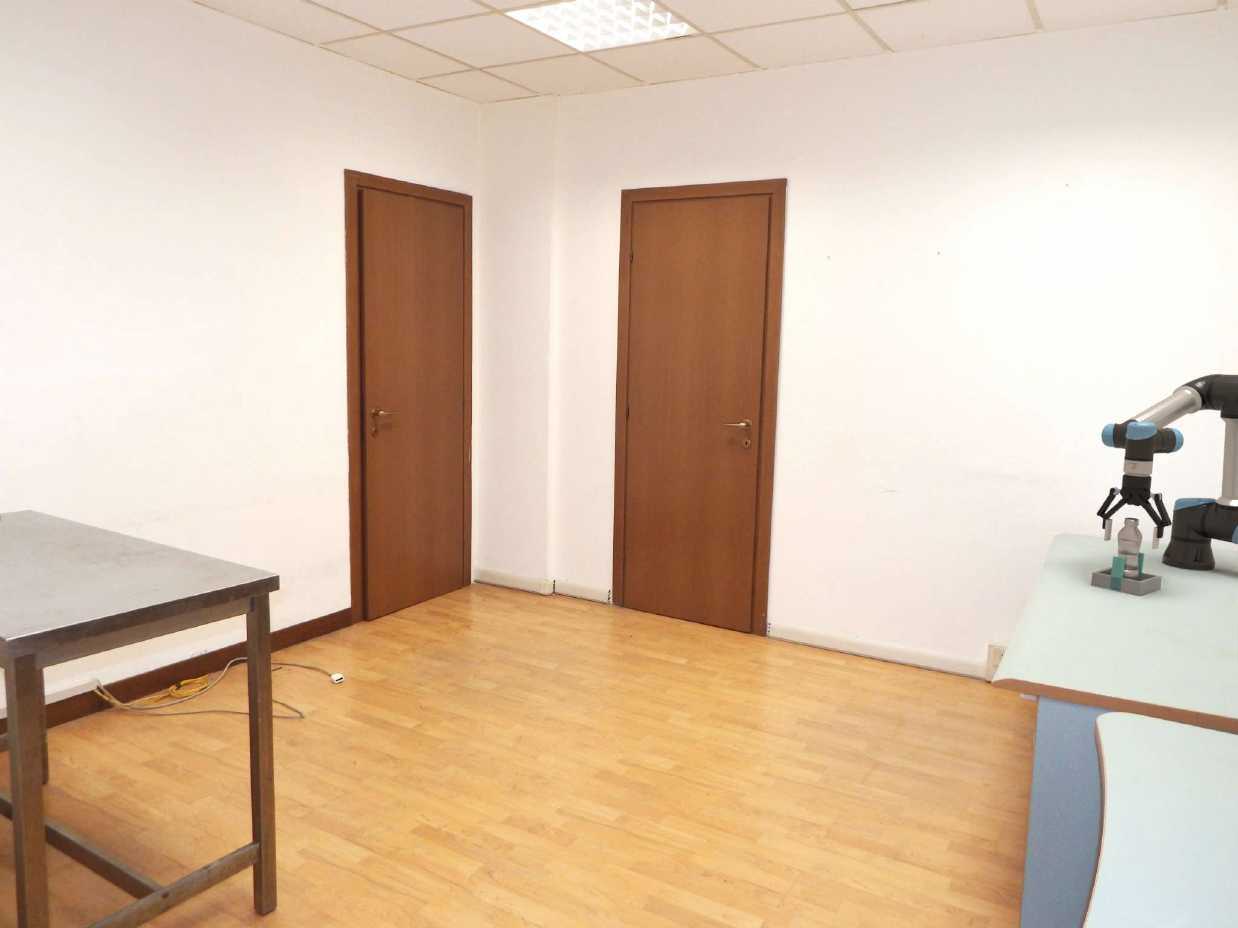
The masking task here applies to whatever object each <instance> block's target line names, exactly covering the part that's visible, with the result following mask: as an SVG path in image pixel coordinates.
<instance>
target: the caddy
mask: <svg viewBox="0 0 1238 928" xmlns="http://www.w3.org/2000/svg"><path fill="white" fill-rule="evenodd" d="M1144 559H1145V553H1144V552H1140V551H1139V554H1138V571H1139V579H1138V581H1135V580H1130V579H1125V578H1123V574H1124V565H1125V558H1122V557H1118V556H1112V562H1111V567H1107V568H1103V569H1100V570H1096V571H1092V572H1091V581H1090V585H1091V587H1092V586H1094V587H1096V588H1097V587H1098V588H1102V589H1108V590H1111V591H1116V592H1121V593H1124V594H1130V595H1134V596H1139V597H1142V596H1144V595H1149V594H1151V593H1153V592H1157V591H1160V590H1161V586H1162V577H1163V576H1162V575H1157V574H1152V573H1146V572H1143V570H1144Z"/></svg>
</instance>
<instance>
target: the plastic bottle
mask: <svg viewBox="0 0 1238 928" xmlns="http://www.w3.org/2000/svg"><path fill="white" fill-rule="evenodd" d="M1139 523H1140V519H1139V518H1135V517H1124V522H1123V525H1124V526H1122V528H1121V529H1120V530H1119V531H1118V533H1117V557H1122V558H1125V565H1124V574H1123V578H1125V579H1130V580H1135V581H1138V579H1139V571H1138V554H1139V552H1140V550H1141V545H1142V541H1143V533H1142V532H1141V530H1140V529H1139V528H1138V526H1139V525H1140V524H1139Z"/></svg>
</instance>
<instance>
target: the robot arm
mask: <svg viewBox="0 0 1238 928" xmlns="http://www.w3.org/2000/svg"><path fill="white" fill-rule="evenodd" d="M1209 410H1210V411H1219V412H1220V415H1219V416H1220V417H1219V418H1220V419H1221V420H1222V421H1223V422H1224V423H1225V425H1224V426H1225V429H1224V442H1223V443H1224V445H1223V463H1222V480H1221V481H1222V482H1221V495H1220V497H1218V498H1217V499H1216V498H1213V497H1180V498H1178V499H1176V500H1175V501H1174V504H1173V505H1174V506H1173V509H1172V520H1171V518H1170V515H1169V513H1168V511H1167V508H1166V506H1165V503H1164V502H1163V494H1162V493H1161V492H1157V493H1152V492H1151V487H1152V478H1153V477H1152V476H1151V475H1152V474H1153V466H1154V455H1155V454H1173V453H1176V452H1178V451H1180V450H1181V448H1182V447H1183V446H1184V442H1185V438H1184V436H1183V433H1182V432H1181V431H1180V430H1179V429H1176V428H1173V427H1167V426H1168V425H1170V424H1172V423H1174V422H1176V421H1177V420H1178V419H1181V418H1182V417H1184V416H1186V415H1191V414H1192V415H1193V414H1195V413H1197V412H1199V411H1209ZM1100 436H1101V441H1102V444H1103V445H1104V446H1106V447H1108V448H1109V447H1110V448H1115V449H1122V450H1123V449H1124V459H1123V471H1122V472H1123V473H1124V474H1122V481H1121V489H1120V488H1118V487H1116V486H1113V487H1111V488H1109V492H1108V496H1107V497H1106V499H1105V500H1104V502H1102V505H1101V506H1100V508H1099V509H1098V510H1097V512H1096V516H1097V517H1101V518H1102V530H1104V536H1103V537H1104V538H1103V541H1105V542H1107V541H1111V539H1112V529H1113V518H1112V516H1113V515H1114V514H1116V513H1117V512H1118V511H1119V510H1120V509H1121V508H1123V507H1124V506H1125V505H1127V506H1135V507H1142V509H1144V511H1146V513H1147V514H1148V516H1149V517H1150V518H1151V520H1152V522H1153V523H1154V524H1155V526H1153V534H1152V545H1151V549H1152V550H1157V549H1159V547H1160V539H1163V538H1164V532H1165V531H1164V530H1165V528H1166V527H1170V526H1171V529H1170V531H1171V532H1170V540H1169V542H1168V545H1167V547H1166V548H1165V550H1164V552H1163V554H1162V558H1161V559H1162V560H1161V562H1162V563H1163V564H1166V565H1167V566H1172V567H1176V568H1182V569H1186V570H1196V571H1197V570H1198V571H1210V570H1211V571H1212V570H1214V569H1215V567H1216V560H1215V556H1214V552H1213V547H1212V540H1217V541H1221V542H1226V543H1232V544H1234V545H1238V374H1222V373H1216V374H1215V373H1214V374H1208V375H1203V376H1201V377H1198V378H1195V379H1192V380H1190V381H1188V382H1186V383H1184V384H1182V385H1180V386H1179V387H1177V388H1175V389H1174V391H1173V393H1172V394H1171V395H1169V396H1167V397H1166V398H1164V399H1161V400H1160V401H1158V402H1156V403H1155V404H1153V405H1151V406H1150V407H1148V408H1146V409H1145V410H1143V411H1141V412H1139V413H1137V414H1136V415H1134V416H1133V417H1132V416H1131V418H1129V419H1127V420H1125V421H1124V422H1121V423H1117V422H1116V423H1108V424H1106V425H1104V427H1103V428H1102V430H1101V435H1100ZM1119 494H1120V496H1121V498H1120V500H1118V501H1117V503H1116V504H1114V505H1113V506H1112V507H1111V508H1110V506H1111V505H1112V503H1113V501H1114V500H1115V498H1116V497H1117V496H1118V495H1119ZM1151 498H1152V501H1154V504H1155V507H1156V510H1157V511H1156V510H1155V509H1154V507H1153V505H1152V503H1151V502H1150V501H1149V500H1150V499H1151ZM1109 508H1110V509H1109ZM1157 512H1158V513H1157Z"/></svg>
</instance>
